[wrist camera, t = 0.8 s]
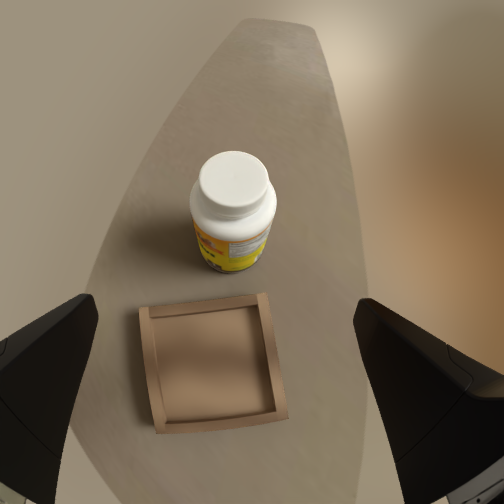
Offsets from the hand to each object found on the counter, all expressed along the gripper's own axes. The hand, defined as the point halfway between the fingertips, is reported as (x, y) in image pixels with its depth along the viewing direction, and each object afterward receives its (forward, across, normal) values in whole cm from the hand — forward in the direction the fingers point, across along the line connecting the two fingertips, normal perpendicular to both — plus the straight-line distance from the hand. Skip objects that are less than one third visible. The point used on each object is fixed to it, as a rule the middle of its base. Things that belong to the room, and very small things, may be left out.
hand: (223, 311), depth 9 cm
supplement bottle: (+16, 0, +5) cm, 16 cm away
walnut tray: (+8, +1, +12) cm, 14 cm away
